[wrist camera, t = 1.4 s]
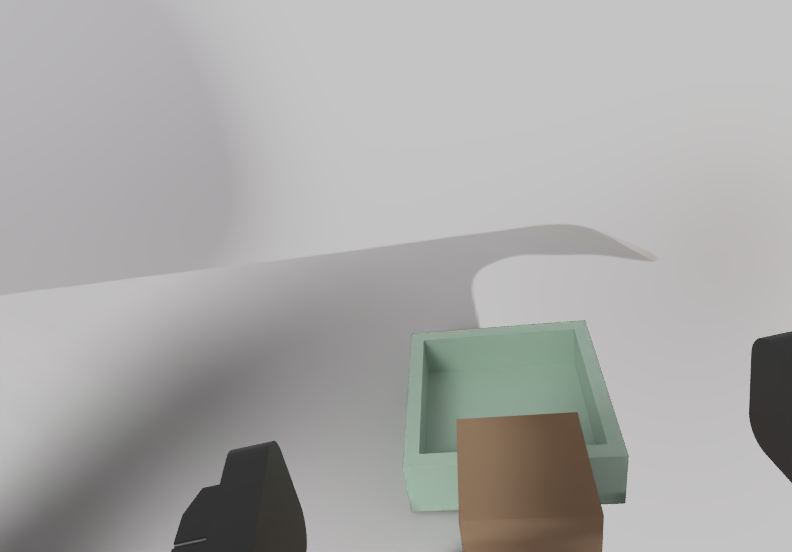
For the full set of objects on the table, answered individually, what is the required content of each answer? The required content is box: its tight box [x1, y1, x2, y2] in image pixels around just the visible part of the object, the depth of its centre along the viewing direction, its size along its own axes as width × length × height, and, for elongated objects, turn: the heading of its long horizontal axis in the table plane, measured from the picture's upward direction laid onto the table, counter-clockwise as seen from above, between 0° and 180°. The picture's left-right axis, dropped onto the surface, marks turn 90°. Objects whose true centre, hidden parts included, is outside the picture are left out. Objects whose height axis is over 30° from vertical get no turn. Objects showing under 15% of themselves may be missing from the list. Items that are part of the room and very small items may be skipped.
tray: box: [403, 320, 628, 512], centre depth 37 cm, size 11×11×4 cm
